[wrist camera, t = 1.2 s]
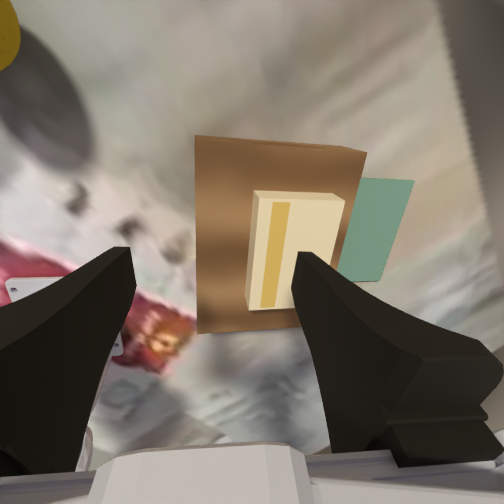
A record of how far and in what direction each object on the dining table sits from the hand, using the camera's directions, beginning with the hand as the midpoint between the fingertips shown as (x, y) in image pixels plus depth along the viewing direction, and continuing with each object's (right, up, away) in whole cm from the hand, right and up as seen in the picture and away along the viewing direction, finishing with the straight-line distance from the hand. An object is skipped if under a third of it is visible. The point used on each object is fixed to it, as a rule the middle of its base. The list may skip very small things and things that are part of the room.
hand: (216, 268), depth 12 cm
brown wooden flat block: (+2, +2, +13) cm, 14 cm away
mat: (+12, +3, +15) cm, 20 cm away
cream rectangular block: (+4, +1, +10) cm, 11 cm away
